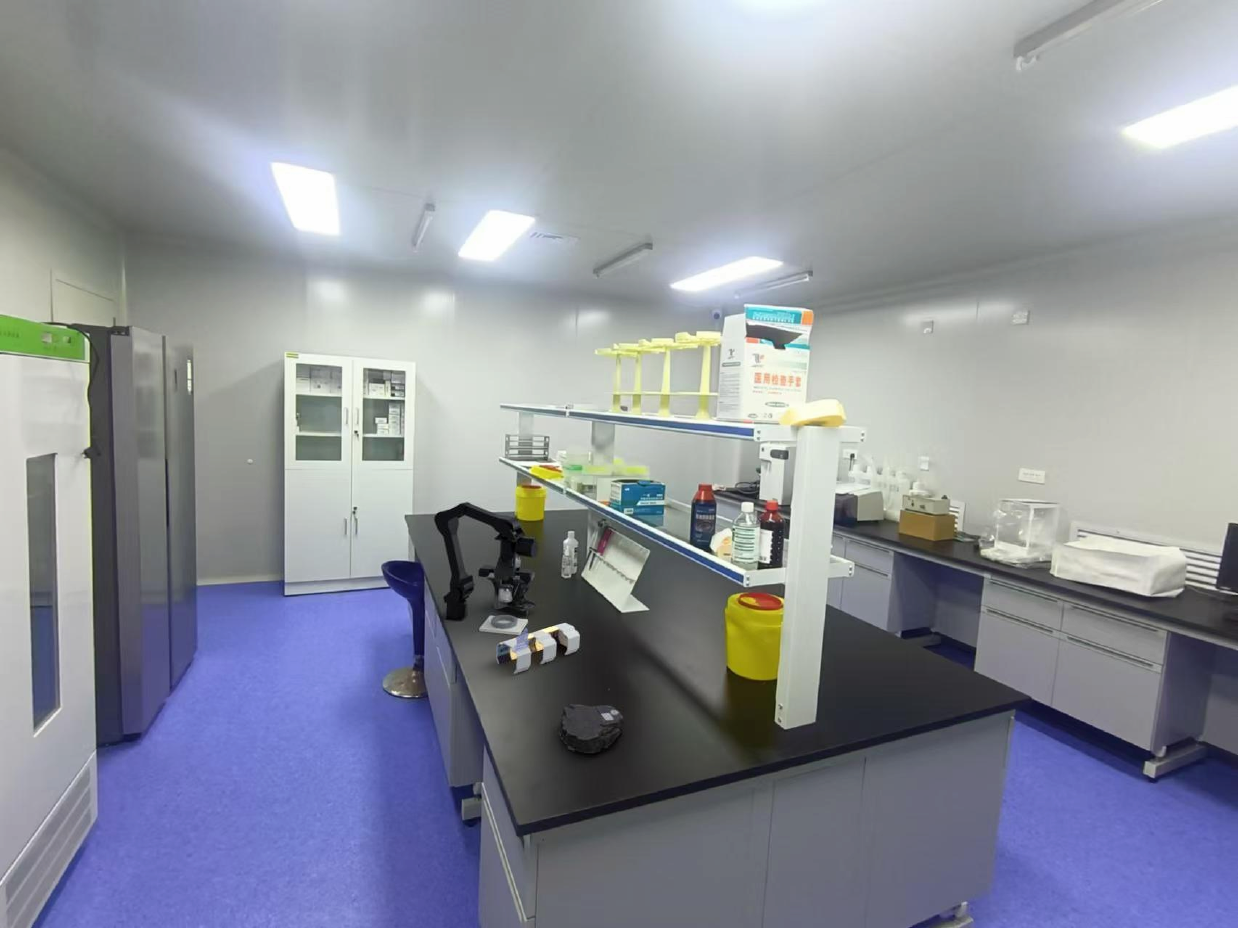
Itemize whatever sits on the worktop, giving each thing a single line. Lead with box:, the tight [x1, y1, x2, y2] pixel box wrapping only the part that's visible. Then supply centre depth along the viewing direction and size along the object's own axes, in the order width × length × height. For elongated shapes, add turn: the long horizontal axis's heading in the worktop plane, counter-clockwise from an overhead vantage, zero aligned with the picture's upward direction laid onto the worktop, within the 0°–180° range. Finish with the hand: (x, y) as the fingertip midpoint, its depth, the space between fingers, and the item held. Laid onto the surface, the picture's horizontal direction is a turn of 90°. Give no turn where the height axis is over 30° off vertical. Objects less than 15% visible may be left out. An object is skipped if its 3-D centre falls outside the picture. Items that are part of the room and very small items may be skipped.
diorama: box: [495, 622, 581, 675], centre depth 174 cm, size 25×10×13 cm, turn 138°
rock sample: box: [558, 703, 625, 754], centre depth 135 cm, size 18×16×5 cm
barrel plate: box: [479, 614, 529, 636], centre depth 197 cm, size 14×12×2 cm
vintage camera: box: [493, 555, 538, 616], centre depth 212 cm, size 10×15×20 cm, turn 53°
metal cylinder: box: [498, 584, 513, 602], centre depth 195 cm, size 5×5×5 cm
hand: (505, 596), depth 196 cm, fingers closed on metal cylinder, 5 cm apart
